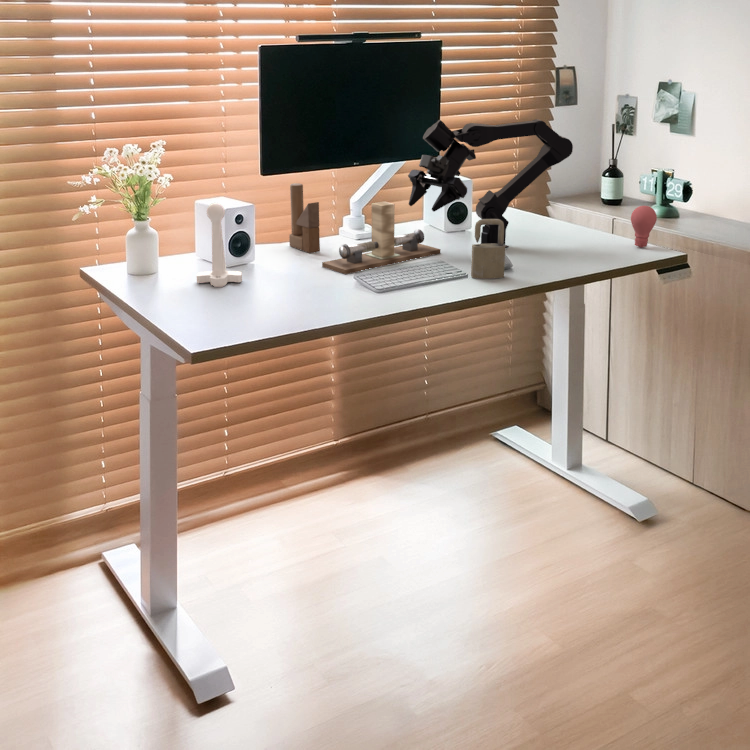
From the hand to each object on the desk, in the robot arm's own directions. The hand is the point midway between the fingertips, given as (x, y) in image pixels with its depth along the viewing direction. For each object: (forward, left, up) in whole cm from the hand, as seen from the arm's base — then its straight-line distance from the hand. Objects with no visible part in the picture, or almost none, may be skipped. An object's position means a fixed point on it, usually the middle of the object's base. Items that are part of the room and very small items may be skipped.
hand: (421, 207), depth 266 cm
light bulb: (-58, +28, -14) cm, 66 cm away
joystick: (+58, -8, -14) cm, 60 cm away
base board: (+11, -3, -14) cm, 18 cm away
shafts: (+11, -3, -12) cm, 17 cm away
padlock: (-2, +26, -14) cm, 30 cm away
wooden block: (+22, -26, -14) cm, 37 cm away
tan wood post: (+11, -3, -12) cm, 16 cm away
